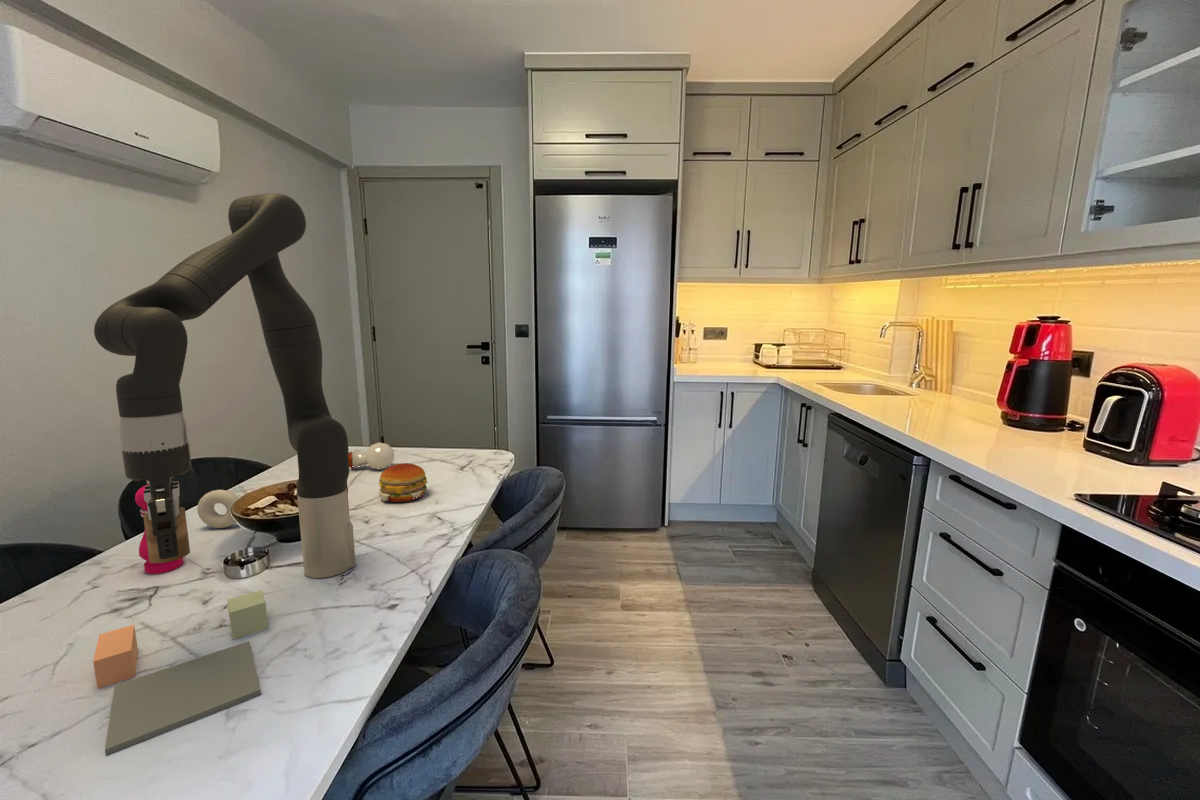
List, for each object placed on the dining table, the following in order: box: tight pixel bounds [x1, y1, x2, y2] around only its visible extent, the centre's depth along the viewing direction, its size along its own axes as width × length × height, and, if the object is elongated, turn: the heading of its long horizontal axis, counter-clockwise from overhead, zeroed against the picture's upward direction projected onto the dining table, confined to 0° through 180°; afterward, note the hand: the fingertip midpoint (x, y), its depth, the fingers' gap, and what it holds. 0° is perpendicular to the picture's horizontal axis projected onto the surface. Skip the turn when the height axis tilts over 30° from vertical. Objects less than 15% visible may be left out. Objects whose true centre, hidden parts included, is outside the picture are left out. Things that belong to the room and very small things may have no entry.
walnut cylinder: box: [142, 506, 191, 563], centre depth 77 cm, size 5×5×7 cm
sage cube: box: [226, 589, 269, 640], centre depth 87 cm, size 5×5×5 cm
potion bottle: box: [349, 442, 395, 471], centre depth 176 cm, size 9×10×15 cm
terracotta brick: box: [92, 624, 139, 689], centre depth 77 cm, size 8×4×4 cm, turn 40°
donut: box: [197, 489, 240, 529], centre depth 126 cm, size 10×4×10 cm, turn 98°
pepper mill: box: [134, 480, 184, 575], centre depth 106 cm, size 7×7×20 cm
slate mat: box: [104, 640, 262, 756], centre depth 72 cm, size 16×14×1 cm
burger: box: [378, 462, 428, 503], centre depth 149 cm, size 13×14×10 cm
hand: (169, 550), depth 78 cm, fingers closed on walnut cylinder, 4 cm apart
